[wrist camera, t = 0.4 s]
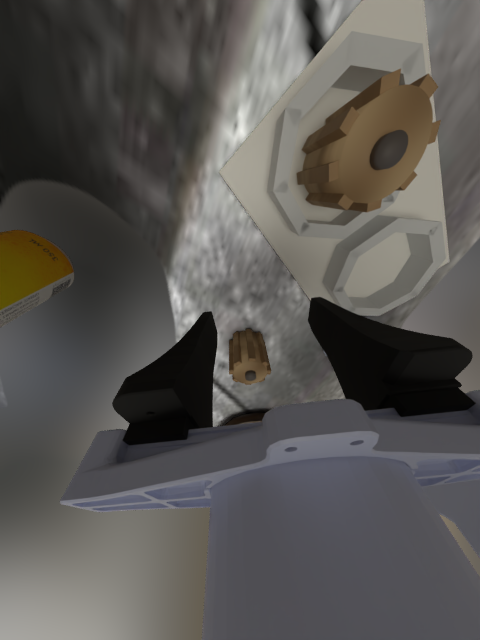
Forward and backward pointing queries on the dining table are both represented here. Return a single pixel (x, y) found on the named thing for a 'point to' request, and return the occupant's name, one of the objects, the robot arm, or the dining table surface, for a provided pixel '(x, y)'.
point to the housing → (334, 224)
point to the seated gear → (370, 145)
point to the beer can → (30, 272)
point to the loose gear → (248, 357)
